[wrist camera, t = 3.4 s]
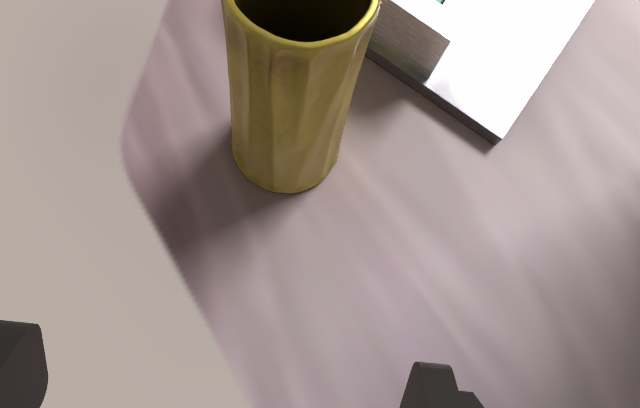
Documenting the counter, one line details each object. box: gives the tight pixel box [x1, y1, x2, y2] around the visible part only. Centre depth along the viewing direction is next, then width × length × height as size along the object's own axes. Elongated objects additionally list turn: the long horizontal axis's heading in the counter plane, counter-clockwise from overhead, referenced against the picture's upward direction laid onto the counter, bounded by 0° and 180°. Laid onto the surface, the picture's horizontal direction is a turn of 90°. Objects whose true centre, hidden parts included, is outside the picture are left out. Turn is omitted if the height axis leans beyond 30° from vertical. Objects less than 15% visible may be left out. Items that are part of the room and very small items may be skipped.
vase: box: [221, 0, 381, 193], centre depth 24 cm, size 6×6×14 cm
